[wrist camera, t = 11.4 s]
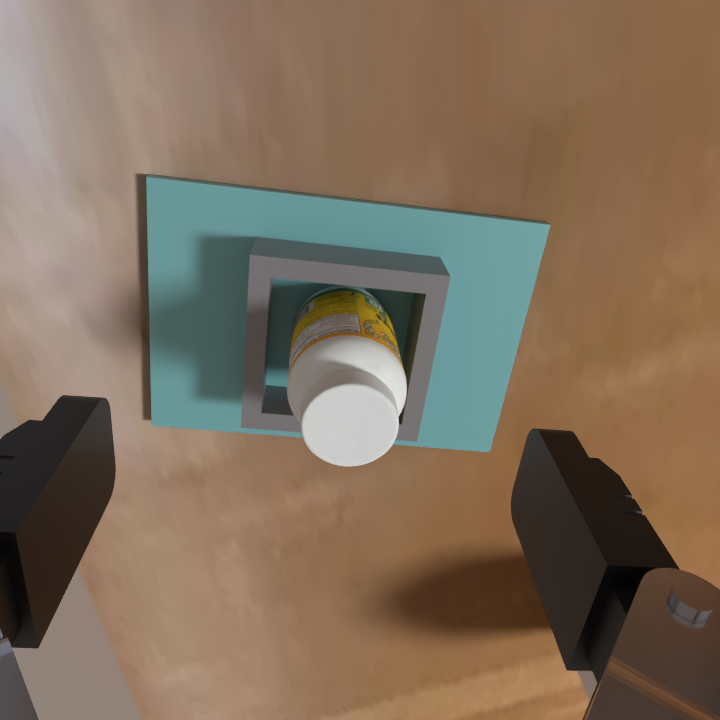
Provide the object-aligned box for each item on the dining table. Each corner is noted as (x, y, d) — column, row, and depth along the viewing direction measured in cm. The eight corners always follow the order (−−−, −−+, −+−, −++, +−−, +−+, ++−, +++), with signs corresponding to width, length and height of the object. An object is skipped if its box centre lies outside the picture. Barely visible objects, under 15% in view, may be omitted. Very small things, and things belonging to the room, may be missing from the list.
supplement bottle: (281, 294, 33) (267, 382, 24) (382, 272, 32) (403, 354, 24) (306, 382, 35) (301, 491, 27) (400, 363, 35) (425, 466, 26)
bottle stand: (546, 221, 32) (571, 241, 29) (487, 446, 38) (502, 482, 35) (149, 174, 30) (128, 189, 27) (153, 420, 36) (137, 456, 33)
